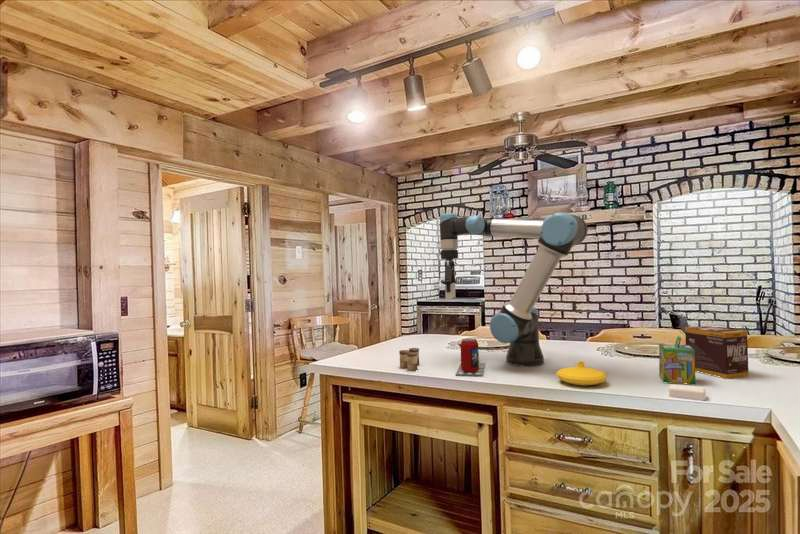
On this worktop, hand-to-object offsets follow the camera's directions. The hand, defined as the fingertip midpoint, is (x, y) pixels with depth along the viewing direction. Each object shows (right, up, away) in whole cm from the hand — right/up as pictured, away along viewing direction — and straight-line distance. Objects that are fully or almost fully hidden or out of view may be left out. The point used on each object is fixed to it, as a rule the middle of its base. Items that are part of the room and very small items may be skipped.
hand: (450, 299), depth 190 cm
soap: (+63, -25, -60) cm, 90 cm away
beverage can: (+5, -26, -22) cm, 35 cm away
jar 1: (-20, -27, -9) cm, 35 cm away
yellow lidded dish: (+39, -26, -41) cm, 62 cm away
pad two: (+7, -27, -12) cm, 30 cm away
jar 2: (-16, -27, -5) cm, 32 cm away
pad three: (+5, -27, -22) cm, 35 cm away
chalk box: (+71, -25, -42) cm, 86 cm away
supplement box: (+90, -24, -33) cm, 99 cm away
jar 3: (-17, -27, -14) cm, 35 cm away
